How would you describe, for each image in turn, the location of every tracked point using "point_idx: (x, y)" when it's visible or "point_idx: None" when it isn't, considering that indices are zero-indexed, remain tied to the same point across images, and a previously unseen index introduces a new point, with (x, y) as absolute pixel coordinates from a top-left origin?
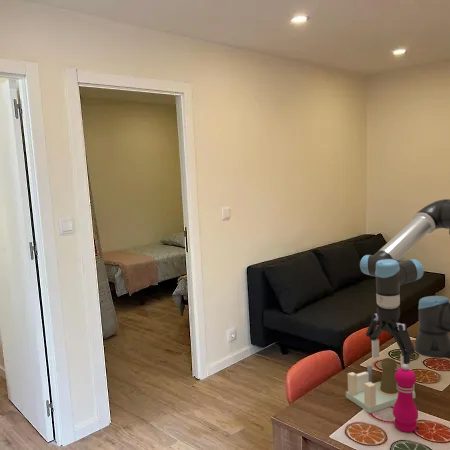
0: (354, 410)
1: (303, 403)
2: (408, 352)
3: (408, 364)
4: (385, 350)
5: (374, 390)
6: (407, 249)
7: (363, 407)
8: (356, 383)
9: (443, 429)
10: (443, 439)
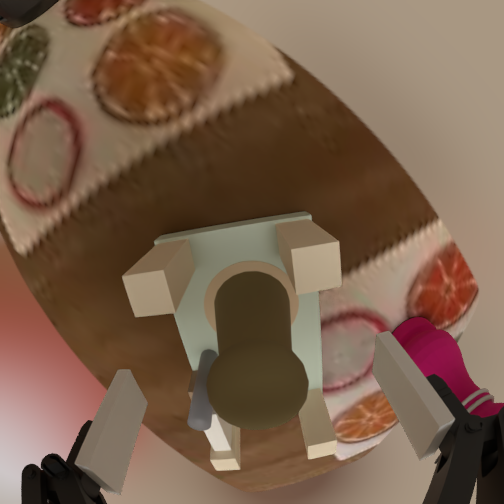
0: None
1: (213, 467)
2: (492, 450)
3: (410, 359)
4: None
5: (331, 427)
6: None
7: None
8: (236, 433)
9: (459, 258)
10: (474, 285)
